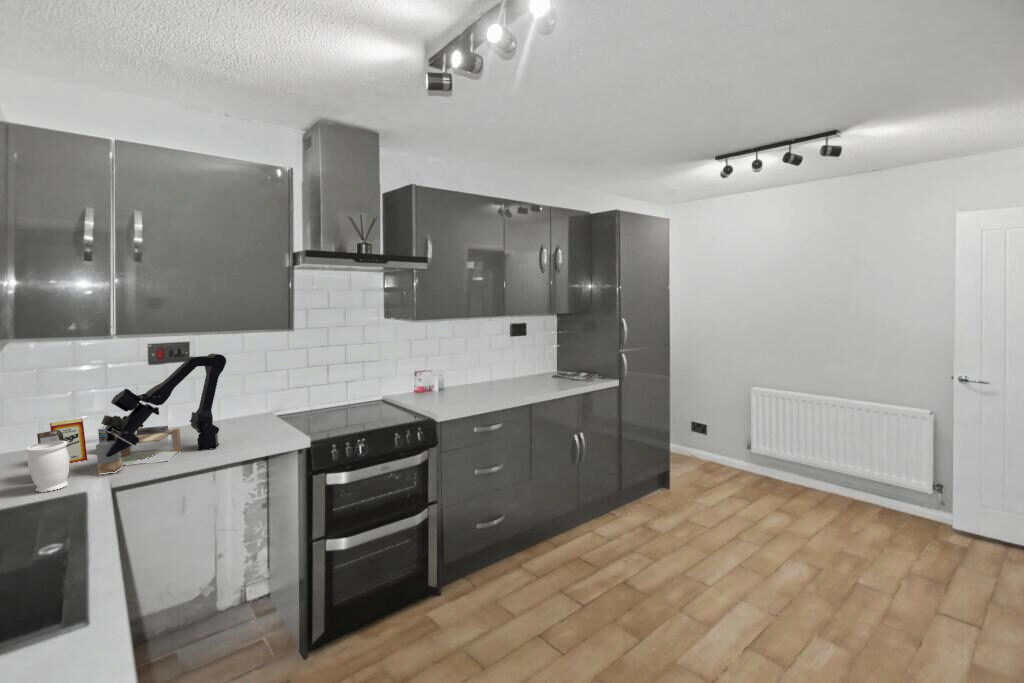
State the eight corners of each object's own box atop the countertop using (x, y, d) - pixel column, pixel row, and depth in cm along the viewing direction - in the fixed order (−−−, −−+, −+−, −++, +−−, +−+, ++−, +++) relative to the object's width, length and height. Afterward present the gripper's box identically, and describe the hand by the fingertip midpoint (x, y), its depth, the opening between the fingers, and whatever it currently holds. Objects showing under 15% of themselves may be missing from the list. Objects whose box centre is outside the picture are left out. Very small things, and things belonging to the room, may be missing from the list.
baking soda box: (86, 456, 209) (81, 417, 207) (87, 460, 204) (82, 420, 202) (54, 462, 202) (49, 422, 200) (55, 466, 197) (50, 425, 196)
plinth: (122, 468, 193) (121, 457, 193) (115, 473, 188) (114, 462, 188) (105, 470, 192) (104, 459, 192) (98, 475, 187) (97, 464, 186)
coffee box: (69, 477, 185) (63, 433, 183) (45, 483, 180) (39, 437, 179) (64, 471, 191) (59, 429, 189) (41, 476, 187) (35, 433, 185)
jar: (73, 487, 175) (68, 444, 174) (32, 497, 168) (26, 452, 167) (70, 479, 183) (65, 438, 181) (31, 488, 176) (25, 445, 174)
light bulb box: (99, 454, 211) (96, 428, 209) (111, 449, 217) (109, 424, 216) (126, 453, 211) (124, 427, 210) (138, 448, 218) (135, 423, 216)
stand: (182, 449, 214) (180, 427, 213) (169, 461, 200) (166, 437, 199) (126, 455, 209) (123, 432, 208) (108, 467, 195) (105, 443, 194)
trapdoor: (174, 431, 214) (173, 425, 214) (160, 442, 200) (159, 434, 200) (134, 435, 211) (134, 428, 210) (118, 445, 197) (117, 438, 197)
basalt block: (120, 458, 193) (118, 439, 192) (114, 462, 188) (112, 443, 187) (104, 459, 192) (102, 441, 191) (98, 464, 187) (95, 445, 186)
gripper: (109, 403, 196) (75, 438, 189) (125, 409, 185) (89, 448, 178) (135, 419, 203) (104, 454, 196) (152, 426, 192) (120, 463, 185)
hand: (103, 454), depth 188 cm, fingers closed on basalt block, 7 cm apart
